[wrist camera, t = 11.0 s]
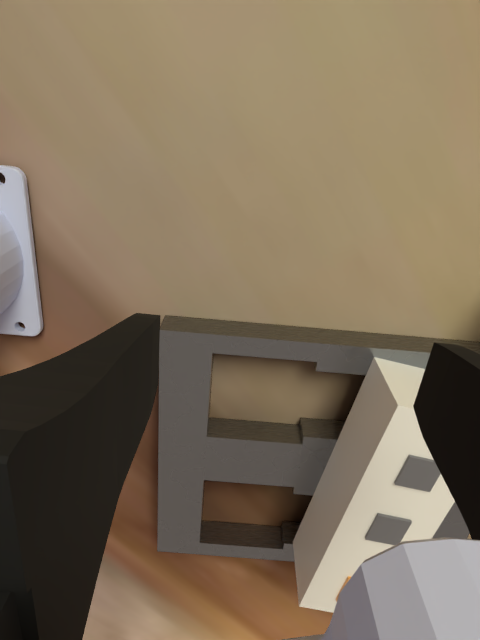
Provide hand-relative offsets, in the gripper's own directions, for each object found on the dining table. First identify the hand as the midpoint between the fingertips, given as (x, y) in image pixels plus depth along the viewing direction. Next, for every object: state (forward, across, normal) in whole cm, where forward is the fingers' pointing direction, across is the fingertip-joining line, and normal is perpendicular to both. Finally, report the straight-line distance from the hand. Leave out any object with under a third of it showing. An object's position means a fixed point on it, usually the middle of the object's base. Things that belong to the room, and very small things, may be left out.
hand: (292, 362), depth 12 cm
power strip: (+9, -6, +11) cm, 16 cm away
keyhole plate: (+10, -4, +11) cm, 15 cm away
